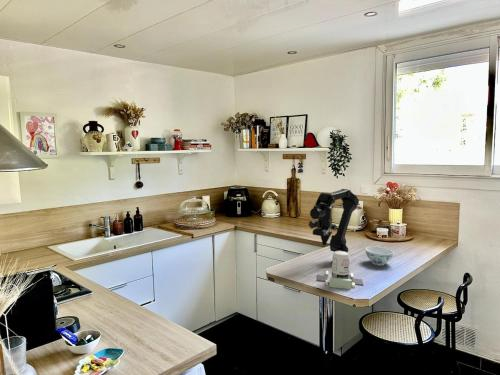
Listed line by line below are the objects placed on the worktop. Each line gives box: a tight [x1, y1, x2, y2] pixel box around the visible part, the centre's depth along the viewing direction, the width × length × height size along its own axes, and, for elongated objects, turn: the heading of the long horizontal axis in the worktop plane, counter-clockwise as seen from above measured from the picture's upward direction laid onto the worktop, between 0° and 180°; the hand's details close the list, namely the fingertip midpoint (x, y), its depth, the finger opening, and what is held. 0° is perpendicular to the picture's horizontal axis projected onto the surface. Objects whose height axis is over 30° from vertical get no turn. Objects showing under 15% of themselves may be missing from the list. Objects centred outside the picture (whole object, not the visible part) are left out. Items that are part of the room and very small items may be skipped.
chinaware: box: [365, 246, 394, 266], centre depth 210 cm, size 15×15×8 cm
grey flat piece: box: [316, 270, 364, 290], centre depth 183 cm, size 18×22×4 cm
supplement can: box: [331, 251, 351, 279], centre depth 180 cm, size 8×8×15 cm
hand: (324, 245), depth 199 cm, fingers closed
